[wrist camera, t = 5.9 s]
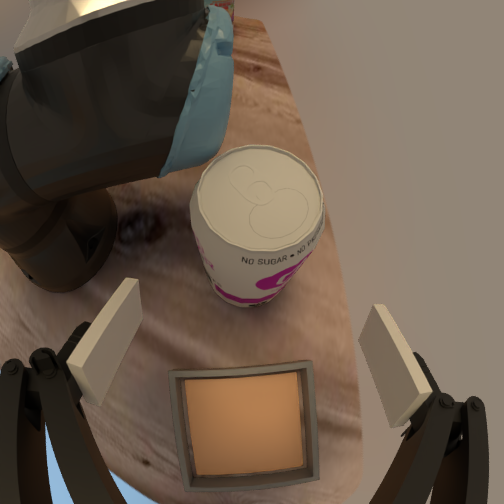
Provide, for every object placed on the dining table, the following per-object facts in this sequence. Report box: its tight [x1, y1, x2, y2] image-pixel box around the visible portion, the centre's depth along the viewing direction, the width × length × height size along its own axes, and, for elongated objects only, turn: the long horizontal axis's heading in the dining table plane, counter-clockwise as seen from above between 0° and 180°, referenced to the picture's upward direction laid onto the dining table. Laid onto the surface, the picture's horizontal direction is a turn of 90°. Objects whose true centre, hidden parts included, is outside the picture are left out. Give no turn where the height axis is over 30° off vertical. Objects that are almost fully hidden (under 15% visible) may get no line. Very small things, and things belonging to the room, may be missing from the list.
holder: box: [168, 360, 320, 492], centre depth 22 cm, size 13×13×2 cm
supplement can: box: [189, 145, 325, 307], centre depth 22 cm, size 8×8×15 cm
